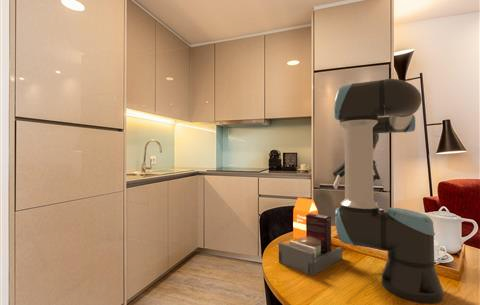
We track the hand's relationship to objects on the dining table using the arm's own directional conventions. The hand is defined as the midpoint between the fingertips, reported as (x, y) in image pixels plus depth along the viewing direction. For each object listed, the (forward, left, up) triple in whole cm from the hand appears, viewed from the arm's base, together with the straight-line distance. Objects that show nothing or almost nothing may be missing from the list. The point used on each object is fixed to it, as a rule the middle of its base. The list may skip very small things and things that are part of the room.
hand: (349, 188), depth 106 cm
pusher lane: (+3, +25, -26) cm, 36 cm away
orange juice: (+19, +5, -26) cm, 33 cm away
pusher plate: (+3, +31, -25) cm, 40 cm away
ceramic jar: (+3, +26, -25) cm, 36 cm away
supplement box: (+4, +19, -25) cm, 32 cm away
